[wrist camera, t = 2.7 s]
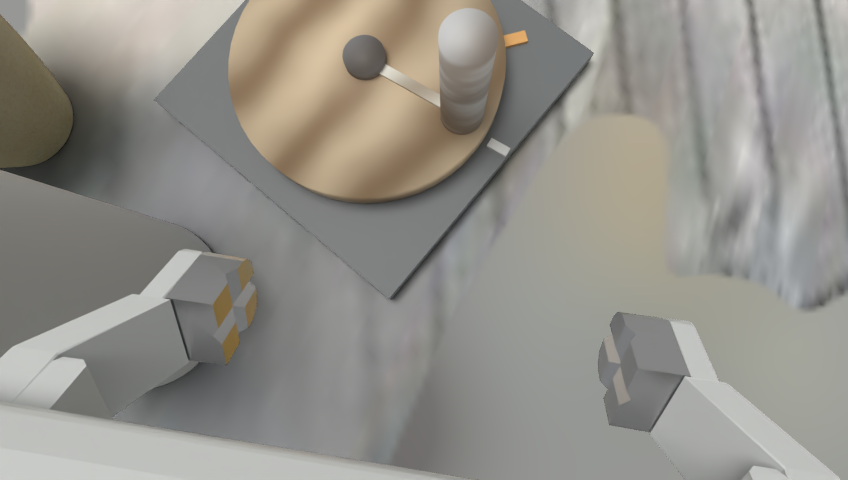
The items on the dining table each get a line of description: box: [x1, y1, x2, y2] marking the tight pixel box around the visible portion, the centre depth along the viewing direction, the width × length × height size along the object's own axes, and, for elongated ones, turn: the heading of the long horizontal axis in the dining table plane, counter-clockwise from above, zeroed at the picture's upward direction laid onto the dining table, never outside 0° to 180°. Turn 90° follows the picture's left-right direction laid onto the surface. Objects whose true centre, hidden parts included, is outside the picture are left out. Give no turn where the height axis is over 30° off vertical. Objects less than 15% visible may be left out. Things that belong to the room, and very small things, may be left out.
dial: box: [228, 0, 506, 203], centre depth 31 cm, size 20×20×12 cm
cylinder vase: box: [0, 170, 212, 388], centre depth 25 cm, size 12×12×25 cm
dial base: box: [154, 0, 593, 299], centre depth 38 cm, size 24×24×2 cm
